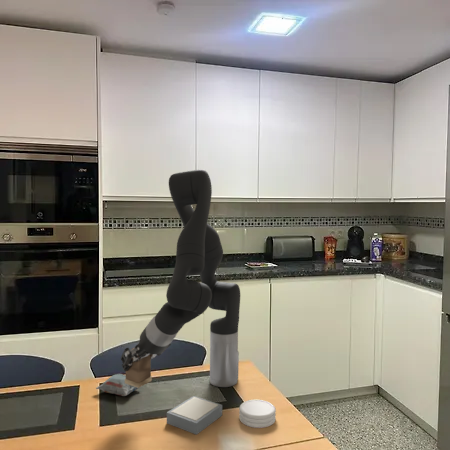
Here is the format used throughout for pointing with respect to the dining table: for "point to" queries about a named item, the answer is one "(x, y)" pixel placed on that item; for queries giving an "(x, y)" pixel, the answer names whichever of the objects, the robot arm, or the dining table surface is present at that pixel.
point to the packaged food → (117, 385)
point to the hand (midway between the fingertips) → (134, 364)
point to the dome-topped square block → (139, 372)
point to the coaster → (257, 413)
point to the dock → (194, 414)
